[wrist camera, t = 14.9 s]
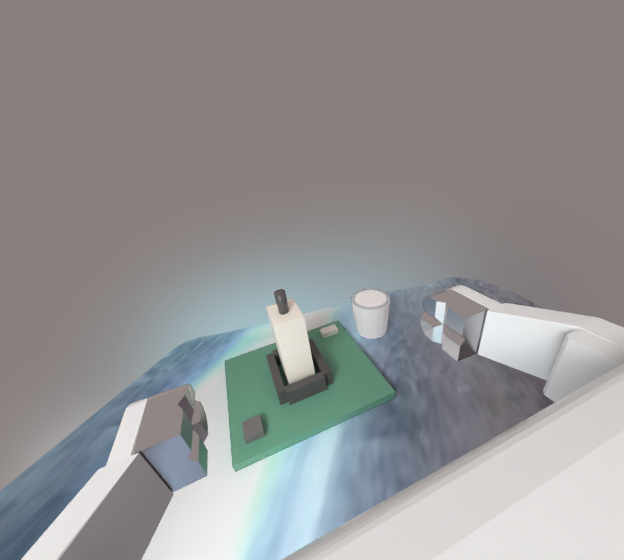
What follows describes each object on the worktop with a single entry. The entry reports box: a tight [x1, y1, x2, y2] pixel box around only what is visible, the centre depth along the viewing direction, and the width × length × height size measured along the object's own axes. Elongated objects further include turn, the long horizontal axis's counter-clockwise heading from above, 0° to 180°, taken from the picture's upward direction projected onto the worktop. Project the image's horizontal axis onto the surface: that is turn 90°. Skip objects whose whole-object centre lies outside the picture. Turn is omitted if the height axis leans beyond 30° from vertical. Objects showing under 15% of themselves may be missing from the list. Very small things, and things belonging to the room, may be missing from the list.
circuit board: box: [225, 321, 395, 472], centre depth 39 cm, size 22×18×4 cm
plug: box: [266, 289, 315, 385], centre depth 36 cm, size 4×5×15 cm
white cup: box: [351, 289, 391, 339], centre depth 46 cm, size 7×7×7 cm
